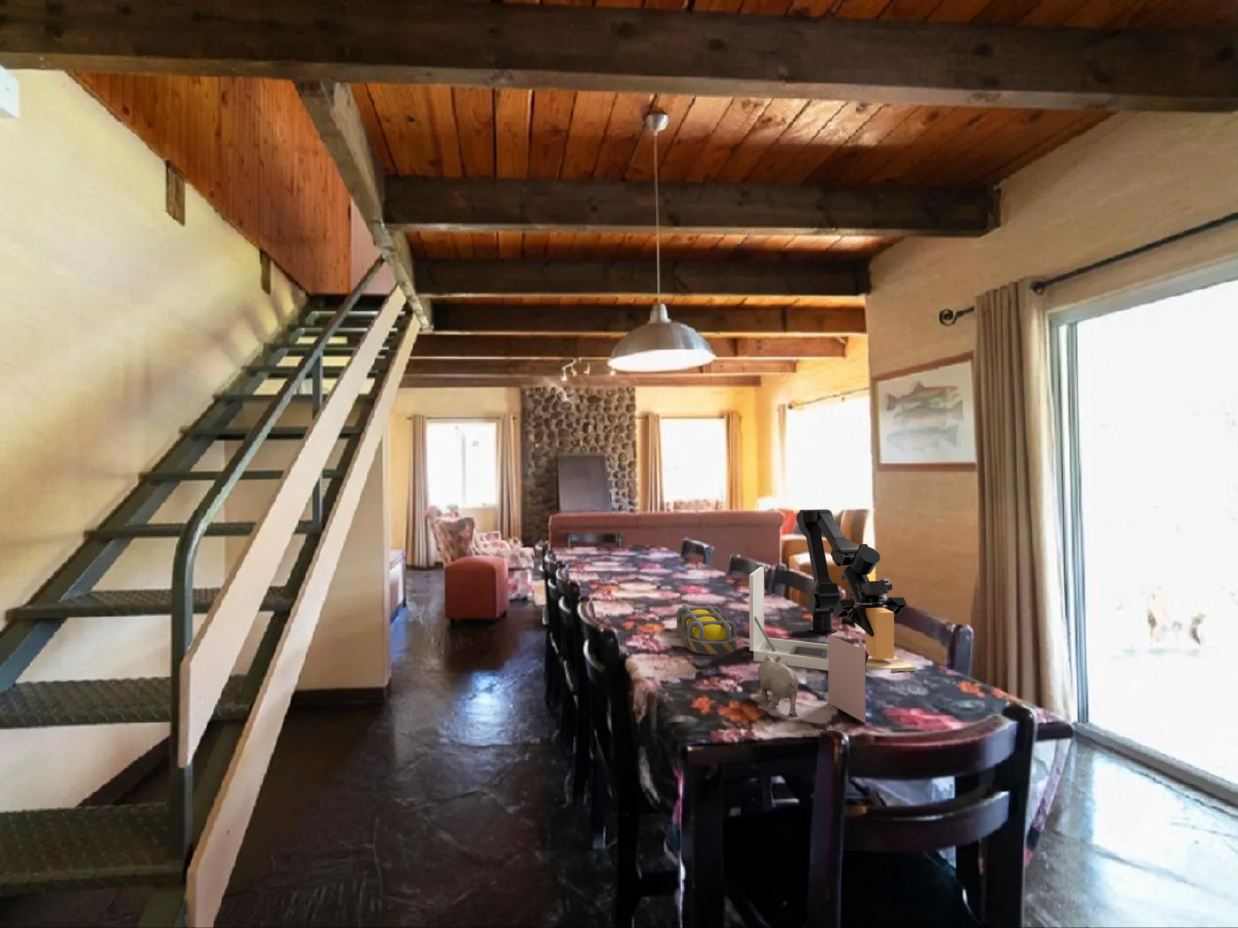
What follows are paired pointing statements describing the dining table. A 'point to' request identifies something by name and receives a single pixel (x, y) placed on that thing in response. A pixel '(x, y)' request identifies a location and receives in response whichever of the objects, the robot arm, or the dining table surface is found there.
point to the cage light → (706, 630)
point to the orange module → (880, 633)
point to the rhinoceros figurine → (778, 683)
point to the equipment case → (786, 649)
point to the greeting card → (847, 677)
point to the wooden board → (889, 664)
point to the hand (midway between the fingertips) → (882, 635)
